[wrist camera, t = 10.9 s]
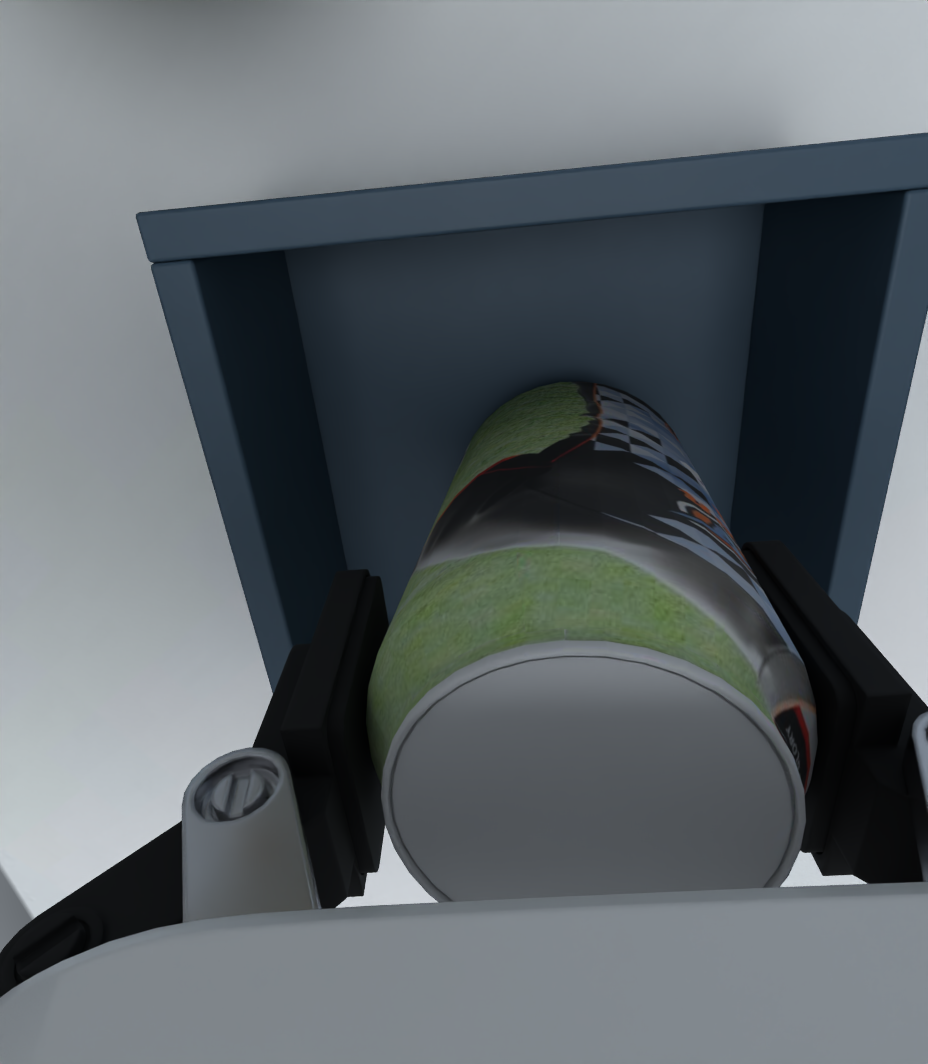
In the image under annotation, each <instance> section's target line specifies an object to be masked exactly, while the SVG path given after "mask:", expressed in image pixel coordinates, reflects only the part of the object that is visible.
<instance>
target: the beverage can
mask: <svg viewBox="0 0 928 1064" xmlns="http://www.w3.org/2000/svg"><path fill="white" fill-rule="evenodd" d="M366 727H367V734H368V740H369V746H370V753H371V758H372V761H373V764H374V767H375V770H376V772H377V775H378V778H379V780H380V783H381V786H382V790H381V800H382V807H383V813H384V820H385V825H386V828H387V830H388V833H389V835H390V838H391V841H392V843H393V846H394V848H395V850H396V852H397V854H398V855H399V857H400V858H401V860H402V862H403V863H404V865H405V866H406V868H407V870H408V871H409V873H410V874H411V875H412V876H413V877H414V878H415V879H416V881H417V882H418V883H419V884H420V885H421V886H422V887H423V888H424V890H425V891H426V892H427V893H428V894H429V895H430V896H432V897H433V898H434V899H435V900H437V901H438V902H439V903H440V902H460V901H481V900H501V899H522V898H543V897H565V896H588V895H610V894H633V893H656V892H680V891H703V890H727V889H750V888H777V887H780V886H781V884H782V883H783V882H784V881H785V879H786V878H787V877H788V875H789V873H790V871H791V869H792V867H793V864H794V862H795V860H796V858H797V856H798V854H799V851H800V849H801V844H802V839H803V834H804V829H805V824H806V812H805V794H806V792H807V789H808V787H809V784H810V781H811V777H812V772H813V766H814V761H815V756H816V751H817V744H818V735H817V714H816V702H815V698H814V695H813V691H812V688H811V684H810V681H809V677H808V674H807V671H806V667H805V665H804V662H803V660H802V659H801V657H800V655H799V653H798V652H797V650H796V648H795V646H794V644H793V643H792V641H791V639H790V637H789V635H788V634H787V632H786V630H785V628H784V627H783V625H782V623H781V621H780V619H779V618H778V616H777V614H776V612H775V611H774V609H773V607H772V605H771V603H770V602H769V600H768V598H767V596H766V595H765V593H764V591H763V589H762V587H761V586H760V584H759V582H758V580H757V578H756V577H755V575H754V573H753V571H752V570H751V568H750V566H749V564H748V562H747V561H746V559H745V557H744V555H743V554H742V552H741V550H740V548H739V546H738V545H737V543H736V541H735V539H734V538H733V536H732V534H731V532H730V530H729V529H728V527H727V525H726V523H725V522H724V520H723V518H722V516H721V514H720V513H719V511H718V509H717V507H716V506H715V504H714V502H713V500H712V498H711V497H710V495H709V493H708V491H707V490H706V488H705V486H704V484H703V482H702V481H701V479H700V477H699V475H698V474H697V472H696V470H695V468H694V466H693V465H692V463H691V461H690V459H689V458H688V456H687V454H686V452H685V450H684V449H683V447H682V445H681V443H680V442H679V440H678V438H677V436H676V434H675V433H674V431H673V429H672V428H671V427H670V426H669V425H668V424H667V422H666V421H665V420H664V419H663V418H662V416H661V415H660V414H659V413H657V412H656V411H655V410H654V409H652V408H651V407H650V406H649V405H647V404H646V403H645V402H644V401H642V400H640V399H638V398H637V397H635V396H633V395H631V394H629V393H627V392H625V391H623V390H620V389H617V388H614V387H611V386H607V385H604V384H598V383H591V382H583V381H577V382H559V383H554V384H549V385H545V386H540V387H537V388H535V389H532V390H530V391H527V392H525V393H522V394H520V395H518V396H516V397H515V398H513V399H511V400H510V401H508V402H507V403H505V404H503V405H502V406H500V407H499V408H498V409H497V410H496V411H495V412H494V413H493V414H492V415H490V416H489V417H488V418H487V419H486V420H485V421H484V423H483V424H482V425H481V426H480V428H479V429H478V430H477V432H476V433H475V434H474V436H473V437H472V439H471V441H470V443H469V445H468V447H467V449H466V451H465V453H464V455H463V458H462V460H461V462H460V464H459V467H458V469H457V471H456V474H455V476H454V478H453V481H452V483H451V485H450V487H449V490H448V492H447V494H446V497H445V499H444V501H443V504H442V506H441V508H440V511H439V513H438V515H437V517H436V520H435V522H434V524H433V527H432V529H431V531H430V534H429V536H428V538H427V541H426V543H425V545H424V547H423V550H422V552H421V554H420V557H419V559H418V561H417V564H416V566H415V568H414V571H413V573H412V575H411V577H410V580H409V582H408V584H407V587H406V589H405V591H404V594H403V596H402V598H401V601H400V603H399V605H398V607H397V610H396V612H395V614H394V617H393V619H392V621H391V624H390V626H389V628H388V630H387V633H386V635H385V637H384V640H383V642H382V644H381V647H380V649H379V651H378V654H377V657H376V661H375V664H374V668H373V671H372V675H371V678H370V682H369V685H368V694H367V711H366Z"/></svg>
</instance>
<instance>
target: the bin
mask: <svg viewBox="0 0 928 1064" xmlns="http://www.w3.org/2000/svg"><path fill="white" fill-rule="evenodd" d="M136 219H137V223H138V226H139V230H140V233H141V237H142V240H143V244H144V247H145V251H146V254H147V258H148V260H149V261H150V262H153V263H154V264H152V265H151V270H152V274H153V277H154V281H155V284H156V288H157V291H158V295H159V298H160V302H161V305H162V309H163V312H164V316H165V319H166V323H167V326H168V329H169V333H170V336H171V340H172V343H173V347H174V350H175V354H176V357H177V361H178V364H179V368H180V371H181V375H182V378H183V382H184V385H185V389H186V392H187V396H188V399H189V403H190V406H191V410H192V413H193V417H194V420H195V424H196V427H197V431H198V434H199V438H200V441H201V445H202V448H203V451H204V455H205V458H206V462H207V465H208V469H209V472H210V476H211V479H212V483H213V486H214V490H215V493H216V497H217V500H218V504H219V507H220V511H221V514H222V518H223V521H224V525H225V528H226V532H227V535H228V539H229V542H230V546H231V549H232V553H233V556H234V560H235V563H236V567H237V570H238V573H239V577H240V580H241V584H242V587H243V591H244V594H245V598H246V601H247V605H248V608H249V612H250V615H251V619H252V622H253V626H254V629H255V633H256V636H257V640H258V643H259V647H260V650H261V654H262V657H263V661H264V664H265V668H266V671H267V675H268V678H269V682H270V685H271V689H272V692H273V693H274V691H275V688H276V686H277V683H278V681H279V678H280V676H281V673H282V671H283V668H284V665H285V663H286V660H287V658H288V655H289V653H290V651H291V649H292V647H293V646H294V645H296V644H309V643H311V641H312V638H313V636H314V633H315V630H316V627H317V624H318V621H319V619H320V616H321V613H322V610H323V607H324V605H325V602H326V599H327V596H328V593H329V590H330V588H331V585H332V582H333V579H334V576H335V574H336V572H337V571H345V570H359V569H368V570H369V572H370V575H371V576H380V578H381V581H382V586H383V592H384V598H385V604H386V610H387V615H388V621H389V626H390V624H391V621H392V619H393V617H394V614H395V612H396V610H397V607H398V605H399V603H400V601H401V598H402V596H403V594H404V591H405V589H406V587H407V584H408V582H409V580H410V577H411V575H412V573H413V571H414V568H415V566H416V564H417V561H418V559H419V557H420V554H421V552H422V550H423V547H424V545H425V543H426V541H427V538H428V536H429V534H430V531H431V529H432V527H433V524H434V522H435V520H436V517H437V515H438V513H439V511H440V508H441V506H442V504H443V501H444V499H445V497H446V494H447V492H448V490H449V487H450V485H451V483H452V481H453V478H454V476H455V474H456V471H457V469H458V467H459V464H460V462H461V460H462V458H463V455H464V453H465V451H466V449H467V447H468V445H469V443H470V441H471V439H472V437H473V436H474V434H475V433H476V432H477V430H478V429H479V428H480V426H481V425H482V424H483V423H484V421H485V420H486V419H487V418H488V417H489V416H490V415H492V414H493V413H494V412H495V411H496V410H497V409H498V408H499V407H500V406H502V405H503V404H505V403H507V402H508V401H510V400H511V399H513V398H515V397H516V396H518V395H520V394H522V393H525V392H527V391H530V390H532V389H535V388H537V387H540V386H545V385H549V384H554V383H559V382H577V381H583V382H591V383H598V384H604V385H607V386H611V387H614V388H617V389H620V390H623V391H625V392H627V393H629V394H631V395H633V396H635V397H637V398H638V399H640V400H642V401H644V402H645V403H646V404H647V405H649V406H650V407H651V408H652V409H654V410H655V411H656V412H657V413H659V414H660V415H661V416H662V418H663V419H664V420H665V421H666V422H667V424H668V425H669V426H670V427H671V428H672V429H673V431H674V433H675V434H676V436H677V438H678V440H679V442H680V443H681V445H682V447H683V449H684V450H685V452H686V454H687V456H688V458H689V459H690V461H691V463H692V465H693V466H694V468H695V470H696V472H697V474H698V475H699V477H700V479H701V481H702V482H703V484H704V486H705V488H706V490H707V491H708V493H709V495H710V497H711V498H712V500H713V502H714V504H715V506H716V507H717V509H718V511H719V513H720V514H721V516H722V518H723V520H724V522H725V523H726V525H727V527H728V529H729V530H730V532H731V534H732V536H733V538H734V539H735V541H736V543H737V545H738V546H739V548H740V550H741V548H742V546H743V544H744V543H746V542H756V541H771V540H780V541H781V542H783V543H784V545H785V546H786V547H787V548H788V549H789V550H790V552H791V553H792V554H793V555H794V556H795V557H796V559H797V560H798V561H799V562H800V563H801V564H802V566H803V567H804V568H805V569H806V570H807V571H808V573H809V574H810V575H811V576H812V577H813V578H814V580H815V581H816V582H817V583H818V584H819V585H820V587H821V588H822V589H823V590H824V591H825V592H826V594H827V595H828V596H829V597H830V598H831V599H832V601H833V602H834V603H835V604H836V605H837V606H838V608H839V609H840V610H841V611H844V612H845V613H846V614H847V615H848V616H850V618H851V619H852V620H853V621H854V622H855V623H856V625H857V624H858V619H859V615H860V610H861V606H862V601H863V597H864V592H865V588H866V583H867V579H868V574H869V570H870V565H871V561H872V556H873V552H874V548H875V543H876V539H877V534H878V530H879V525H880V521H881V516H882V512H883V507H884V503H885V498H886V494H887V489H888V485H889V480H890V476H891V472H892V467H893V463H894V458H895V454H896V449H897V445H898V440H899V436H900V431H901V427H902V422H903V418H904V413H905V409H906V404H907V400H908V396H909V391H910V387H911V382H912V378H913V373H914V369H915V364H916V360H917V355H918V351H919V346H920V342H921V337H922V333H923V328H924V324H925V319H926V315H927V311H928V133H918V134H908V135H898V136H888V137H878V138H868V139H858V140H849V141H839V142H829V143H819V144H809V145H799V146H789V147H780V148H770V149H760V150H750V151H740V152H730V153H720V154H710V155H701V156H691V157H681V158H671V159H661V160H651V161H641V162H632V163H622V164H612V165H602V166H592V167H582V168H572V169H562V170H553V171H543V172H533V173H523V174H513V175H503V176H493V177H483V178H474V179H464V180H454V181H444V182H434V183H424V184H414V185H405V186H395V187H385V188H375V189H365V190H355V191H345V192H335V193H326V194H316V195H306V196H296V197H286V198H276V199H266V200H256V201H247V202H237V203H227V204H217V205H207V206H197V207H187V208H178V209H168V210H158V211H148V212H139V213H138V214H136Z"/></svg>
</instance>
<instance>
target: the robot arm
mask: <svg viewBox="0 0 928 1064" xmlns="http://www.w3.org/2000/svg"><path fill="white" fill-rule="evenodd" d="M741 552H742V554H743V555H744V557H745V559H746V561H747V562H748V564H749V566H750V568H751V570H752V571H753V573H754V575H755V577H756V578H757V580H758V582H759V584H760V586H761V587H762V589H763V591H764V593H765V595H766V596H767V598H768V600H769V602H770V603H771V605H772V607H773V609H774V611H775V612H776V614H777V616H778V618H779V619H780V621H781V623H782V625H783V627H784V628H785V630H786V632H787V634H788V635H789V637H790V639H791V641H792V643H793V644H794V646H795V648H796V650H797V652H798V653H799V655H800V657H801V659H802V660H803V662H804V665H805V667H806V671H807V674H808V677H809V681H810V684H811V688H812V691H813V695H814V698H815V702H816V714H817V735H818V744H817V751H816V756H815V761H814V766H813V772H812V777H811V781H810V784H809V787H808V789H807V792H806V794H805V812H806V824H805V829H804V834H803V839H802V844H801V849H800V850H801V851H802V852H804V853H810V852H811V854H812V856H813V858H814V860H815V862H816V864H817V865H818V867H819V869H820V871H821V873H822V875H823V876H833V875H854V876H856V877H858V878H859V879H861V880H863V881H865V882H866V883H867V884H856V885H830V886H803V887H777V888H750V889H727V890H703V891H680V892H656V893H633V894H610V895H588V896H565V897H543V898H522V899H501V900H481V901H460V902H440V903H420V904H399V905H379V906H360V907H345V908H336V907H337V906H338V905H339V904H340V903H341V902H343V901H344V900H345V899H346V898H347V897H355V896H363V895H364V889H365V883H366V876H367V873H373V872H377V871H378V869H379V864H380V857H381V850H382V843H383V836H384V828H385V820H384V813H383V807H382V800H381V790H382V786H381V783H380V780H379V778H378V775H377V772H376V770H375V767H374V764H373V761H372V758H371V753H370V746H369V740H368V734H367V727H366V711H367V694H368V685H369V682H370V678H371V675H372V671H373V668H374V664H375V661H376V657H377V654H378V651H379V649H380V647H381V644H382V642H383V640H384V637H385V635H386V633H387V630H388V628H389V621H388V615H387V610H386V604H385V598H384V592H383V586H382V581H381V578H380V576H371V575H370V572H369V570H368V569H359V570H345V571H337V572H336V574H335V576H334V579H333V582H332V585H331V588H330V590H329V593H328V596H327V599H326V602H325V605H324V607H323V610H322V613H321V616H320V619H319V621H318V624H317V627H316V630H315V633H314V636H313V638H312V641H311V643H309V644H296V645H294V646H293V647H292V649H291V651H290V653H289V655H288V658H287V660H286V663H285V665H284V668H283V671H282V673H281V676H280V678H279V681H278V683H277V686H276V688H275V691H274V693H273V696H272V699H271V701H270V704H269V706H268V709H267V711H266V714H265V716H264V719H263V722H262V724H261V727H260V729H259V732H258V734H257V737H256V739H255V742H254V744H253V747H252V748H245V749H240V750H236V751H232V752H230V753H228V754H225V755H223V756H221V757H218V758H217V759H215V760H214V761H212V762H211V763H209V764H208V765H206V766H205V767H203V768H202V769H201V771H200V772H199V773H198V774H197V775H196V776H195V777H194V778H193V779H192V780H191V782H190V784H189V785H188V787H187V789H186V791H185V792H184V797H183V802H182V821H181V822H179V823H178V824H176V825H175V826H173V827H172V828H170V829H169V830H167V831H166V832H164V833H163V834H161V835H160V836H158V837H157V838H155V839H154V840H152V841H151V842H149V843H148V844H146V845H144V846H143V847H141V848H140V849H138V850H137V851H135V852H134V853H132V854H131V855H129V856H128V857H126V858H125V859H123V860H122V861H120V862H119V863H117V864H116V865H114V866H113V867H111V868H110V869H108V870H107V871H105V872H104V873H102V874H101V875H99V876H97V877H96V878H94V879H93V880H91V881H90V882H88V883H87V884H85V885H84V886H82V887H81V888H79V889H78V890H76V891H75V892H73V893H72V894H70V895H69V896H67V897H66V898H64V899H63V900H61V901H60V902H58V903H57V904H55V905H54V906H52V907H51V908H49V909H47V910H46V911H44V912H43V913H41V914H40V915H38V916H37V917H36V918H35V919H33V920H32V921H31V922H30V923H28V924H27V925H26V926H25V927H23V928H22V929H21V930H20V931H19V932H18V933H17V934H16V935H15V936H14V937H13V938H12V939H11V940H10V941H9V943H8V944H7V945H6V946H5V947H4V948H3V950H2V952H1V953H0V1064H928V707H927V705H926V704H925V703H924V702H923V701H922V700H921V698H920V697H919V696H918V695H917V694H916V693H915V692H914V690H913V689H912V688H911V687H910V686H909V685H908V683H907V682H906V681H905V680H904V679H903V678H902V677H901V675H900V674H899V673H898V672H897V671H896V670H895V668H894V667H893V666H892V665H891V664H890V663H889V661H888V660H887V659H886V658H885V657H884V656H883V655H882V653H881V652H880V651H879V650H878V649H877V648H876V646H875V645H874V644H873V643H872V642H871V641H870V640H869V638H868V637H867V636H866V635H865V634H864V633H863V631H862V630H861V629H860V628H859V627H858V626H857V625H856V623H855V622H854V621H853V620H852V619H851V618H850V616H848V615H847V614H846V613H845V612H844V611H841V610H840V609H839V608H838V606H837V605H836V604H835V603H834V602H833V601H832V599H831V598H830V597H829V596H828V595H827V594H826V592H825V591H824V590H823V589H822V588H821V587H820V585H819V584H818V583H817V582H816V581H815V580H814V578H813V577H812V576H811V575H810V574H809V573H808V571H807V570H806V569H805V568H804V567H803V566H802V564H801V563H800V562H799V561H798V560H797V559H796V557H795V556H794V555H793V554H792V553H791V552H790V550H789V549H788V548H787V547H786V546H785V545H784V543H783V542H781V541H780V540H771V541H756V542H746V543H744V544H743V546H742V548H741Z"/></svg>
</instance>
